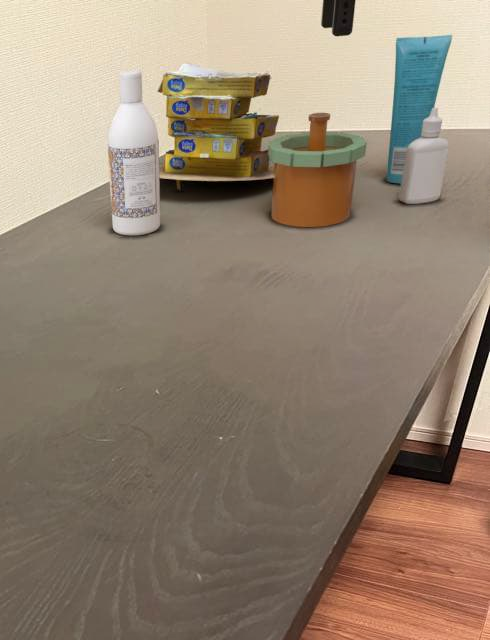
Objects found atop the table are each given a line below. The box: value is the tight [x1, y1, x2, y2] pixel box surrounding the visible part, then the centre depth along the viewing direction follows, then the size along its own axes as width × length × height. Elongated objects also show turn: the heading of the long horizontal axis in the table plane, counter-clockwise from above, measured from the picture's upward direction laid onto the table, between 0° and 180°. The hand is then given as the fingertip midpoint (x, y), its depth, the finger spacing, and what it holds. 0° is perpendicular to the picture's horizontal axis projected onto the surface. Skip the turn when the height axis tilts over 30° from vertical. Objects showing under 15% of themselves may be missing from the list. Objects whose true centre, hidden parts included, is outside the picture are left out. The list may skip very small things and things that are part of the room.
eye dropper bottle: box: [398, 107, 450, 205], centre depth 111 cm, size 4×6×12 cm
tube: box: [385, 34, 453, 185], centre depth 117 cm, size 7×5×19 cm, turn 85°
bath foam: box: [107, 69, 161, 236], centre depth 109 cm, size 7×7×20 cm
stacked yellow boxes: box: [157, 62, 280, 191], centre depth 126 cm, size 25×25×17 cm
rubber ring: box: [267, 131, 368, 167], centre depth 108 cm, size 13×13×2 cm
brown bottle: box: [270, 112, 358, 228], centre depth 110 cm, size 11×11×13 cm
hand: (335, 31), depth 95 cm, fingers open, 8 cm apart
